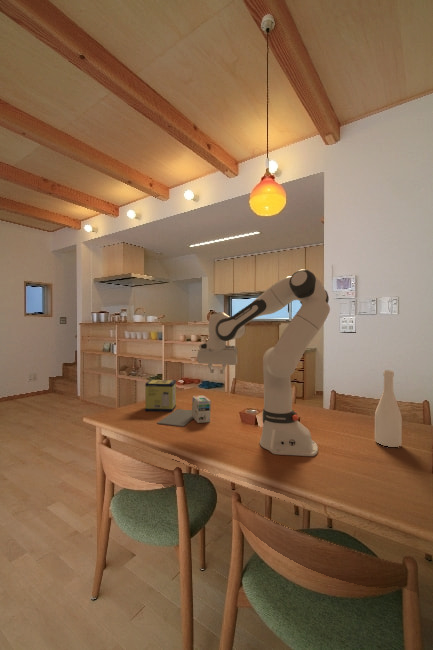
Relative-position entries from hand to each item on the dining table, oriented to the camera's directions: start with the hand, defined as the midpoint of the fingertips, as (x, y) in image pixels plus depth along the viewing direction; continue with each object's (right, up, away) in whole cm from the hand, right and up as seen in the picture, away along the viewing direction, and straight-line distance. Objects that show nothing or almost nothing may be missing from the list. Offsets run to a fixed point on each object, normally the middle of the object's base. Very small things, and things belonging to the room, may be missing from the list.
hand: (217, 373), depth 146 cm
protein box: (-32, -24, +21) cm, 45 cm away
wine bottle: (+70, -25, -25) cm, 78 cm away
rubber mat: (-19, -24, +6) cm, 31 cm away
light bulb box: (-8, -24, +3) cm, 25 cm away
